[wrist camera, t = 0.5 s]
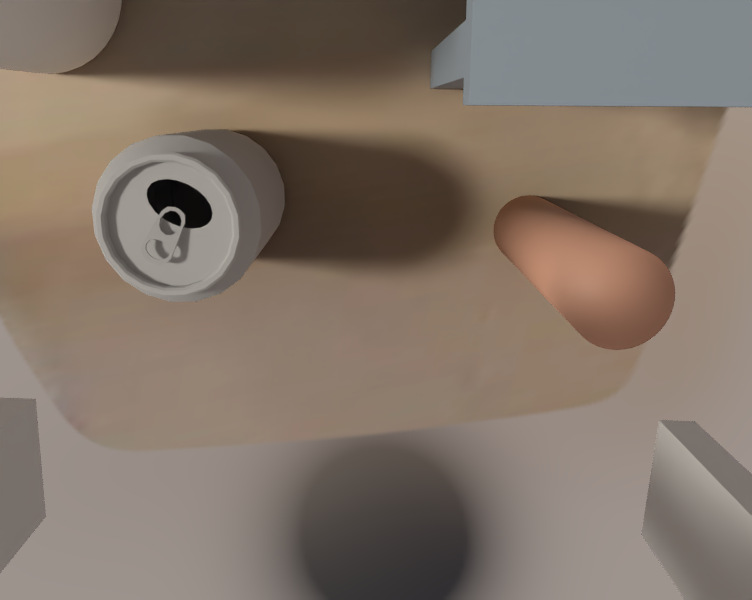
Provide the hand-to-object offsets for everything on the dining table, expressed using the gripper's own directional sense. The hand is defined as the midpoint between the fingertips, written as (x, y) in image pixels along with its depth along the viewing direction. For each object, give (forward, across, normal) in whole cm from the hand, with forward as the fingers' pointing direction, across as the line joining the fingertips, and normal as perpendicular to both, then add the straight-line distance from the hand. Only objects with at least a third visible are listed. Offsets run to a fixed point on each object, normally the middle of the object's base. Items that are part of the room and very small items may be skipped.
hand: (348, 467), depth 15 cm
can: (+28, -8, +2) cm, 29 cm away
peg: (+28, +10, +1) cm, 30 cm away
